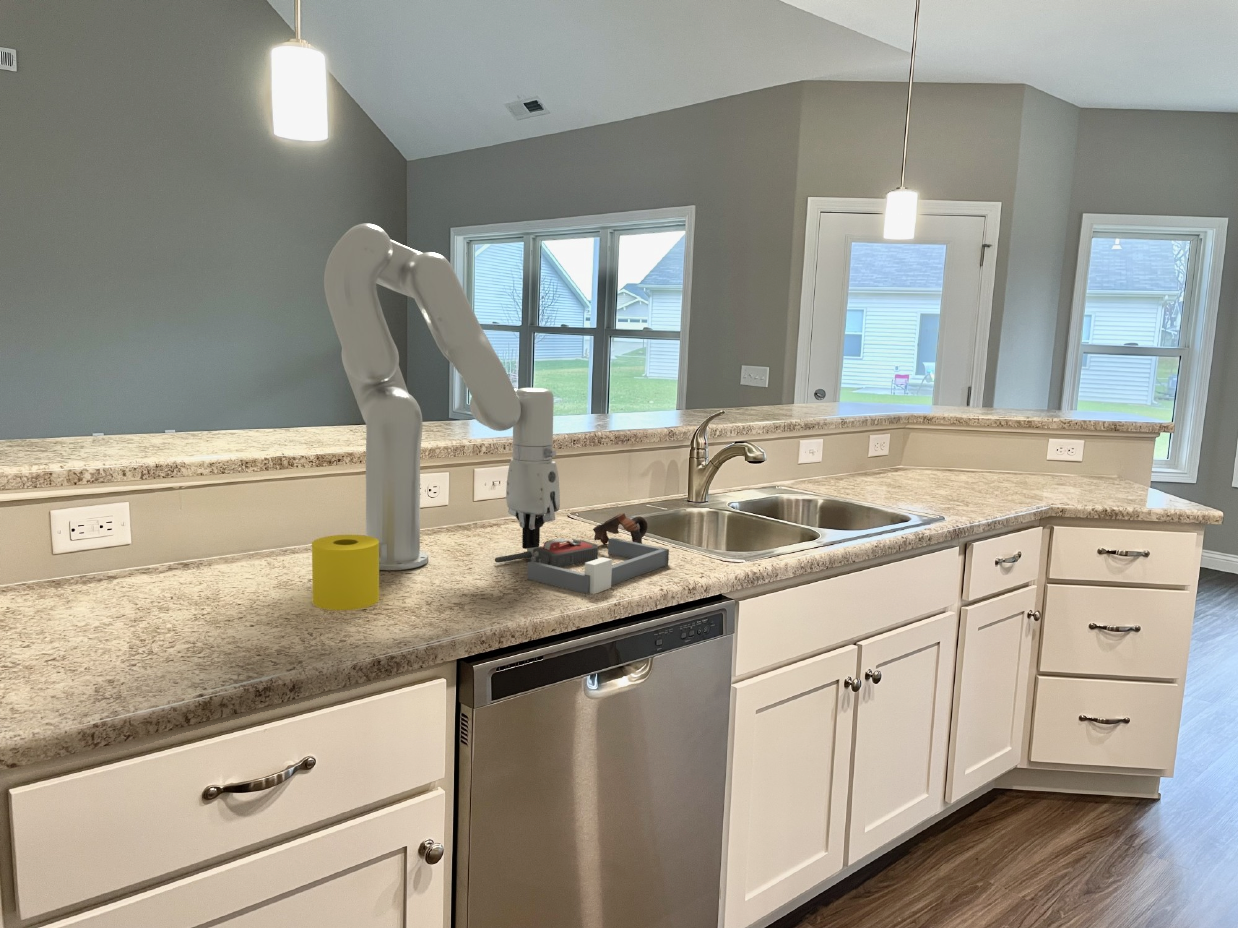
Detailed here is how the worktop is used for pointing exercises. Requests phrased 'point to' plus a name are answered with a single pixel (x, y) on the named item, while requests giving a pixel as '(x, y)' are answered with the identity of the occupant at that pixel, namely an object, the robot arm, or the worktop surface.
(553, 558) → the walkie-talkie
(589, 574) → the cradle
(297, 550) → the worktop surface
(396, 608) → the worktop surface
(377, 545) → the yellow toilet paper roll
